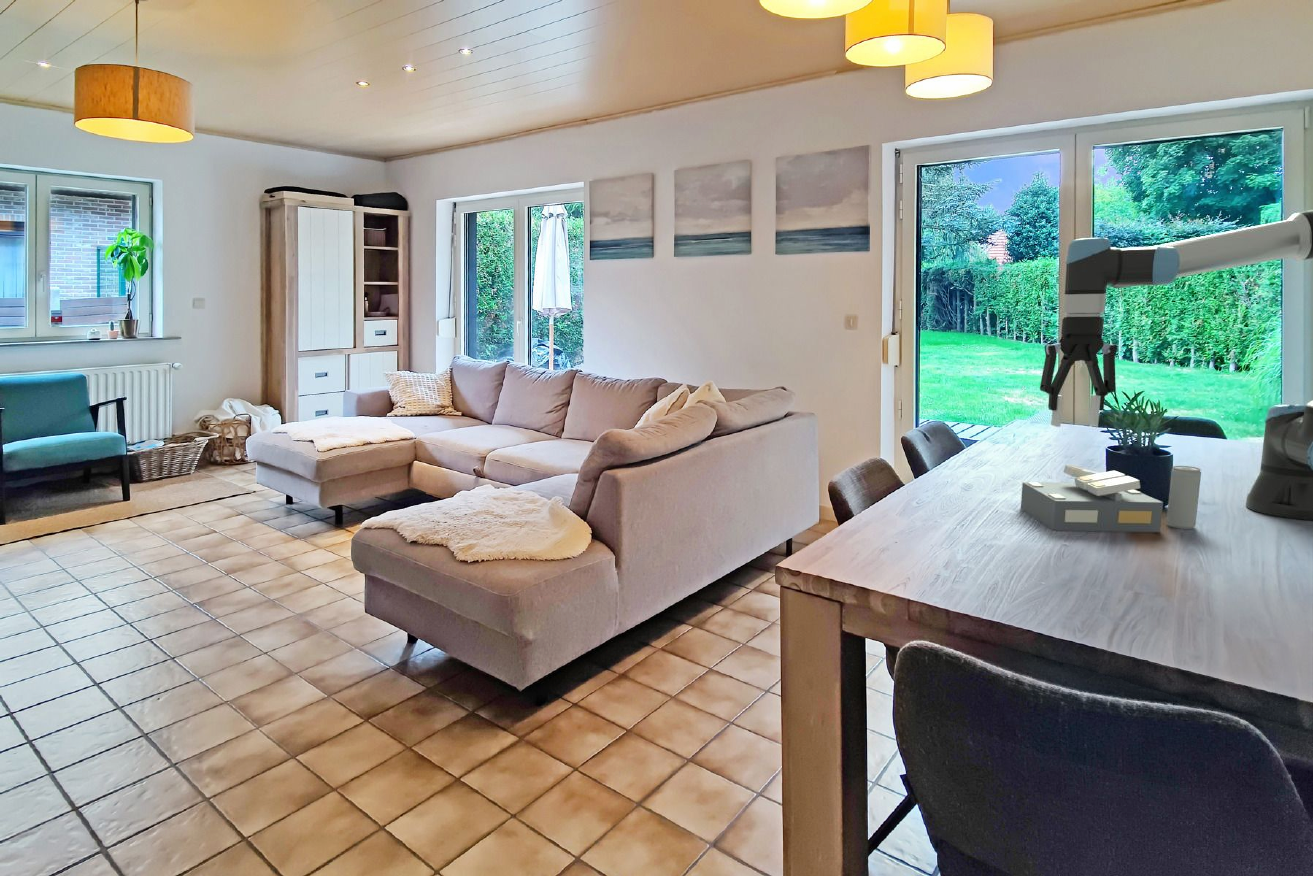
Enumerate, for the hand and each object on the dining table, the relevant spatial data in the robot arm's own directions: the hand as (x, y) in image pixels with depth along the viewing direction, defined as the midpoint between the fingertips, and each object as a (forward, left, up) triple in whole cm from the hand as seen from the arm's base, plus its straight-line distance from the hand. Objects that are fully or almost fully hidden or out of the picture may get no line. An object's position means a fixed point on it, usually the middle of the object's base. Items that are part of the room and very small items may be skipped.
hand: (1074, 425), depth 159 cm
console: (-1, +5, -19) cm, 20 cm away
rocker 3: (-3, +11, -11) cm, 15 cm away
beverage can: (-18, +9, -19) cm, 28 cm away
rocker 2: (-3, +5, -11) cm, 12 cm away
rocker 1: (-3, 0, -11) cm, 11 cm away
